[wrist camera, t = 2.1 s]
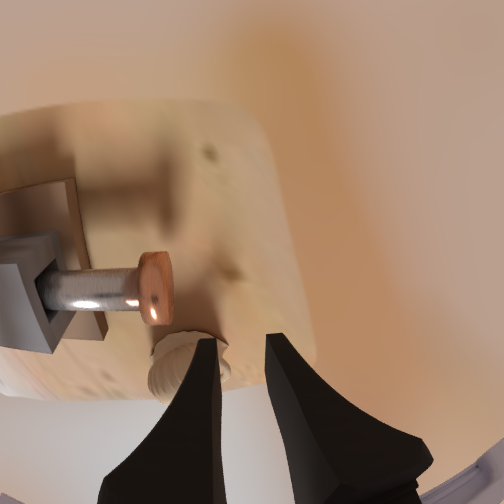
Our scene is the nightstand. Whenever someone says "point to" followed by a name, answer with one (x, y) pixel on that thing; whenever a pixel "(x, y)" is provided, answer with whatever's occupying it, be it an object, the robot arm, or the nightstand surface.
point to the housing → (41, 266)
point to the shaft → (113, 289)
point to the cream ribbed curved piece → (178, 363)
